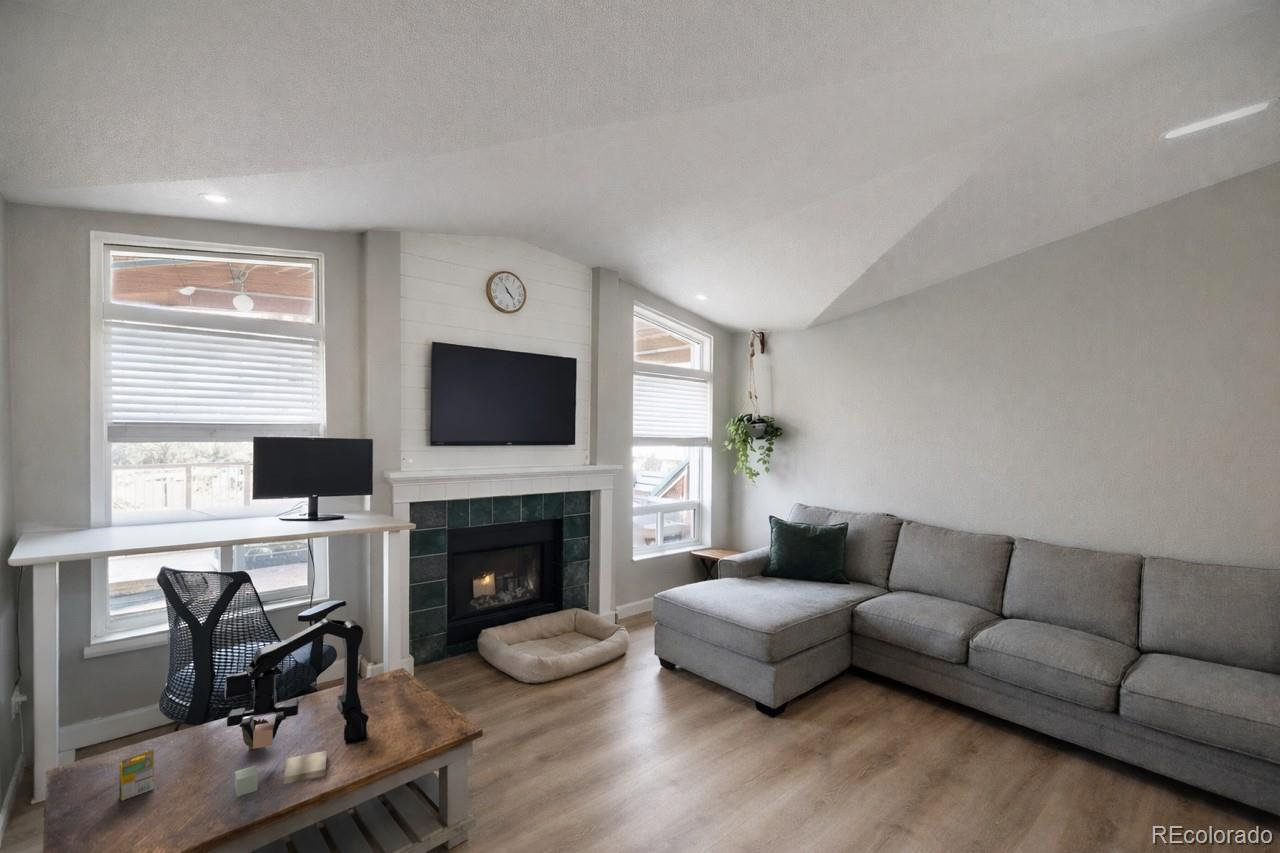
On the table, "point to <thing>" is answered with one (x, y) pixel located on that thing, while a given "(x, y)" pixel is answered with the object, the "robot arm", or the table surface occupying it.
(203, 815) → the table surface
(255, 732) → the terracotta cube
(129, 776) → the crayon box
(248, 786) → the sage cube
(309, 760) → the plinth
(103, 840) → the table surface
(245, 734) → the cup
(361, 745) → the table surface
